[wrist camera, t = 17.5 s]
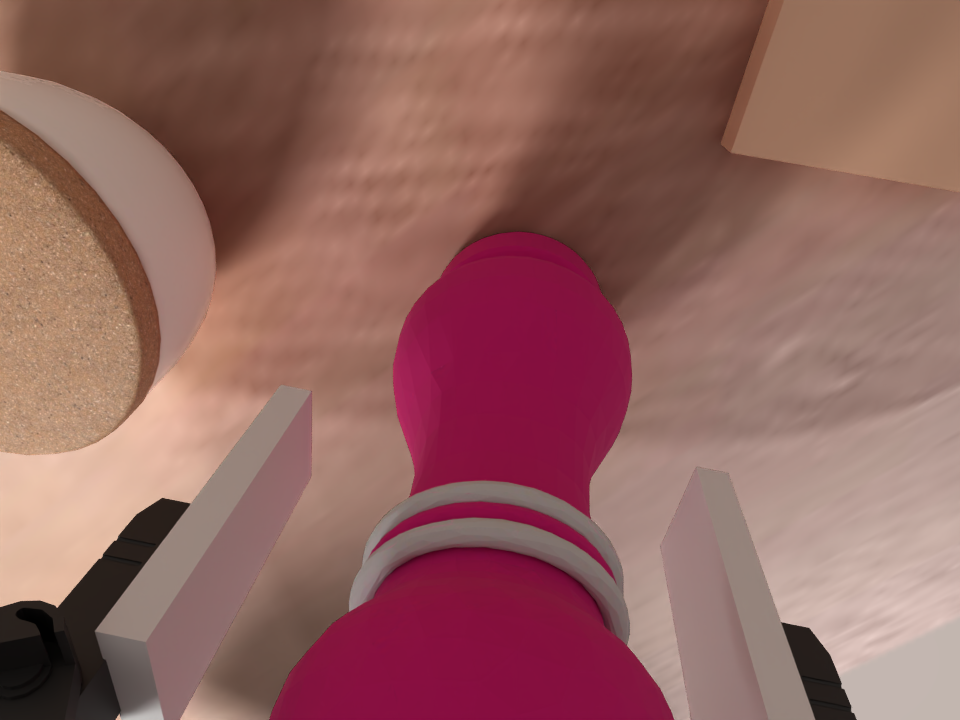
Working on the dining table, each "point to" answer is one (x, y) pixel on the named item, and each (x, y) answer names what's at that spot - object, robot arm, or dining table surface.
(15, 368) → the lidded jar
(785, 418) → the dining table surface
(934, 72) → the tile
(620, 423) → the pepper mill
